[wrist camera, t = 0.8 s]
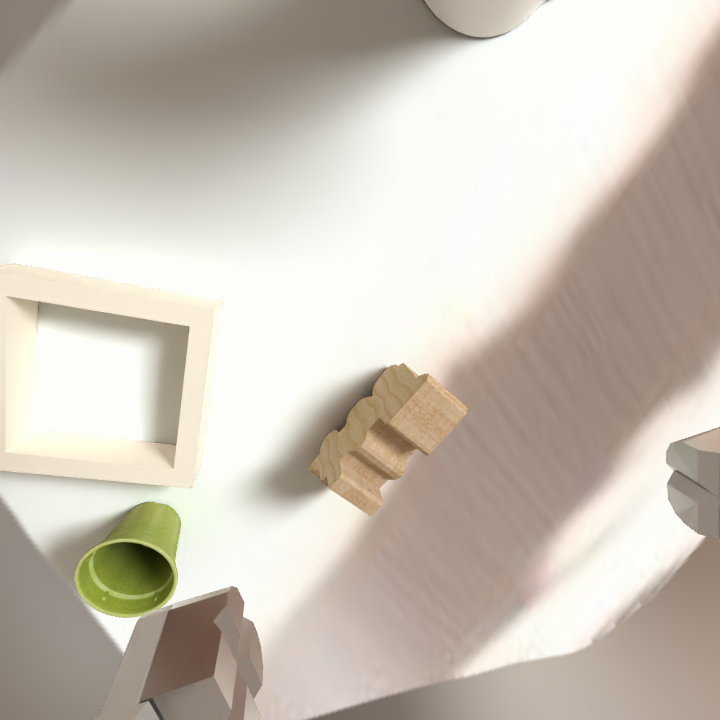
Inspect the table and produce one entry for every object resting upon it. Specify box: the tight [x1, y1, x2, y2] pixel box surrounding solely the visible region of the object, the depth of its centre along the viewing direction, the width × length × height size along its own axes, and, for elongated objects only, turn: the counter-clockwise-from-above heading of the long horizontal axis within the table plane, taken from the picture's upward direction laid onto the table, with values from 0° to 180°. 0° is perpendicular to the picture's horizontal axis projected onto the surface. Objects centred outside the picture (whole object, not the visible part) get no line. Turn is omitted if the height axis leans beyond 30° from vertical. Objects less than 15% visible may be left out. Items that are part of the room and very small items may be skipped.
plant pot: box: [74, 502, 181, 618], centre depth 46 cm, size 9×9×9 cm
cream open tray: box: [0, 264, 223, 488], centre depth 42 cm, size 19×19×5 cm
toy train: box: [309, 363, 468, 516], centre depth 46 cm, size 6×17×10 cm, turn 138°
